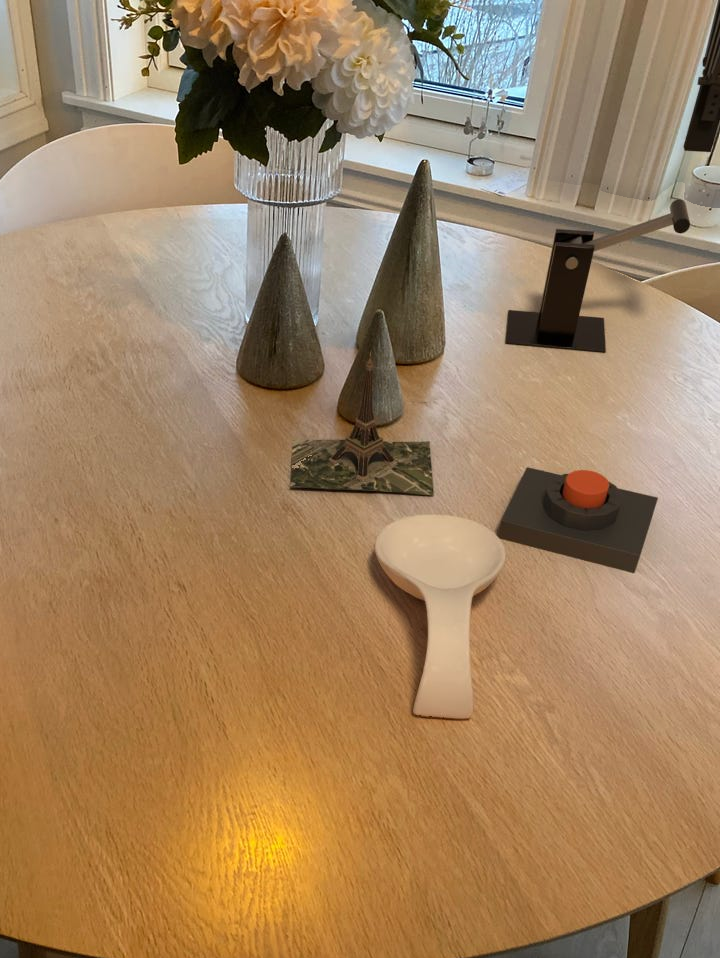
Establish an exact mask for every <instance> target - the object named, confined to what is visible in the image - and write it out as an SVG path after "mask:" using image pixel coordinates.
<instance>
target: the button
mask: <svg viewBox="0 0 720 958" xmlns="http://www.w3.org/2000/svg"><path fill="white" fill-rule="evenodd" d="M567 474H568V476H567V477H566V480H565V484H564V488H563V492H562V495H563V498H564V499H565V500H566V501H567V502H569V503H570V504H572V505H575V506H580V507H584V508H596V507H600V506H601V505H603V503H604V502H605V499H606V496H607V492H608V489H609V482H610V481H609V480H608V478H607V477H606V476H604V475H603V474H601V473H599V472H597V471H593V470H588V469H578V470H574V471H571V472H570V473H567ZM608 481H609V482H608Z"/></svg>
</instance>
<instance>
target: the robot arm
mask: <svg viewBox="0 0 720 958" xmlns="http://www.w3.org/2000/svg"><path fill="white" fill-rule="evenodd" d="M713 15H714V16H713V20H712V23H711V28H710V32H709V37H708V41H707V44H706V49H705V52H704V57H703V58H702V67H703V69H702V73H701V74H702V76H698V78H697V86H699V87H698V91H697V96H696V98H695V99H696V100H695V103H694V106H693V110H692V113H691V117H690V121H689V125H688V127H687V131H686V135H685V139H684V142H683V147H682V148H683V151H684V152H700V153H712V149H713V146H714V144H715V139H716V136H717V133H718V129H719V126H720V0H717V3H716V6H715V10H714V14H713Z"/></svg>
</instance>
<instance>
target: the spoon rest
mask: <svg viewBox="0 0 720 958" xmlns="http://www.w3.org/2000/svg"><path fill="white" fill-rule="evenodd" d="M374 553H375V555H376V559H377V561H378V563H379V565H380V567H381V568H382V571H384V573H385V574H386V575H387V577H388V578H389V579H390V580H391V581H392V582H393V583H394V584H395V585H396V586H397V587H398V588H400V589H401V590H402V591H404V592H406V593H407V594H409V595H410V596H412V597H414V598H416V599H417V600H420V601H422V602H424V604H425V608H426V619H427V642H426V644H427V645H426V654H425V659H424V664H423V670H422V675H421V678H420V681H419V685H418V688H417V691H416V695H415V699H414V703H413V708H412V713H413V714H414V715H416V716H419V715H421V716H420V717H429V716H432V717H431V718H443V717H444V719H457V720H458V719H459V720H462V719H471V718H472V717H473V716H474V687H473V678H472V665H471V644H470V641H471V640H470V639H471V638H470V636H471V614H472V613H471V611H472V602H473V597H474V596H476V595H477V594H479V593H481V592H482V591H484V590H485V589H486V588H488V587H489V586H490V585H491V584H492V583H493V582H494V581H495V580H496V579H497V578H498V576H499V575H500V574H501V573H502V571H503V569H504V568H505V565H506V561H507V560H506V559H507V552H506V547H505V545H504V543H503V541H502V539H499V538H498V534H496V533H495V532H494V531H493V530H491V529H490V528H488V527H487V526H485V525H483V524H481V523H479V522H477V521H475V520H472V519H470V518H466V517H461V516H456V515H452V514H451V515H450V514H439V513H438V514H435V513H433V514H431V513H427V514H426V513H423V514H415V515H408V516H404V517H402V518H399V519H395V520H394V521H392V522H390V523H388V524H387V525H386V526H384V527H383V528H382V529H381V530H380V531H379V533H378V534H377V536H376V538H375V541H374Z"/></svg>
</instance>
